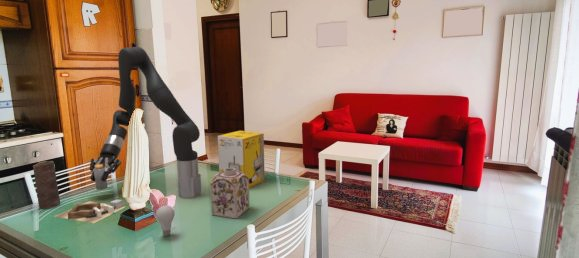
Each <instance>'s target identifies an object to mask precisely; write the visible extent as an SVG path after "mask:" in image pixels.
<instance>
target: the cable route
mask: <svg viewBox="0 0 579 258" xmlns="http://www.w3.org/2000/svg"><path fill="white" fill-rule="evenodd" d="M109 204H110V206H109V205H103V210H104V211H102V212H101V210H99V209H98V208H97V207H95V208H93V209H94V211H95V214H93V215H86V218H92V217H96V216H97V217H99V218H100V217H102V215H103V214H106V213H111V215H113V214H115V213H114V209H118V208H120V207H122V206H124V205H123V204H124V203H123V200H122V199H113V200H112V201H110V202H109Z"/></svg>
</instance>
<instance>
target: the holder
mask: <svg viewBox="0 0 579 258" xmlns="http://www.w3.org/2000/svg"><path fill="white" fill-rule="evenodd" d="M100 203H101V202H98V203H90V204H84V203H82V204H75V205H74V206H73V207H72V208H73V209H72V208H71V209H72V210H71V211H70V212H69V213H68V219H67V220H71V219H73V218H84V217H86V215H93V214H95V211H94V209H93V208H95V207H97V208H98V209H100V208H101V206H100ZM81 210H89V211H81Z"/></svg>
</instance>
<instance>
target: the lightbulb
mask: <svg viewBox="0 0 579 258" xmlns="http://www.w3.org/2000/svg"><path fill="white" fill-rule="evenodd" d="M175 214H176V213H175V210H174V208H173V207H172V206H170V205H162V206H160V207H158V209H157V210H156V212H155V218H156V220H157V222H159V225H160V228H161V230H162V234H163V236H165V237H168V236H170V235H171V230H172V224H173V223H172V222H173V220H174V218H175Z"/></svg>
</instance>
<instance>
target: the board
mask: <svg viewBox="0 0 579 258" xmlns="http://www.w3.org/2000/svg"><path fill="white" fill-rule="evenodd" d="M90 203H100V206H101V208H100V209H99V210H101V212H102V211H104V210H103V205H109V206H110V203H104V202H103V203H102V202H97V201H91V200H90V201H87V202H84V203H83V204H90ZM73 208H74V207H72V208H70V209H68V210H65V211H63V212H61V213H59V214H56V215H54V216H53V218H54V217H55V218H60V219H66V220H69V219H68V213H69V212H70V211H71V210H72V209H73ZM125 208H126V206H124V205H123V206H122V207H120V208H118V209H114V213H113V214H115V213H117V212H119V211H121V210H123V209H125ZM81 211H89V210H81ZM111 215H112V214H111V213H106V214H103V215H102V217H100V218H99V217H97V216H96V217H92V218H86V217H84V218H73V219H70V220H71V221H78V222H82V223H83V222H85V223H90V224H95V223H97V222H99V221H101V220H103V219H105V218H107V217H109V216H111Z"/></svg>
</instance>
